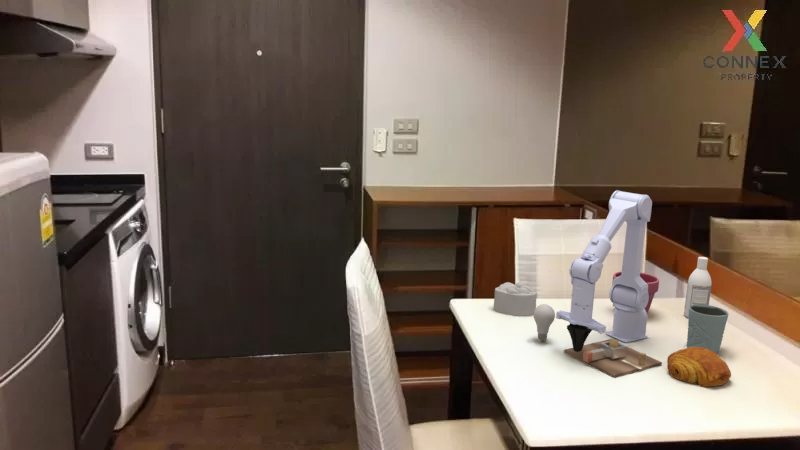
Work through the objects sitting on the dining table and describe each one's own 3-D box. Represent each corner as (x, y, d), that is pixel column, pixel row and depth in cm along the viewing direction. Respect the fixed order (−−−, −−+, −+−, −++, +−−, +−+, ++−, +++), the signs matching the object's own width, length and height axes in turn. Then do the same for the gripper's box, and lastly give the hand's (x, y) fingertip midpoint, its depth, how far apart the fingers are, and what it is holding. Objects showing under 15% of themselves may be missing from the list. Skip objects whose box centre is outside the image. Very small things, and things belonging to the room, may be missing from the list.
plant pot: (617, 304, 228) (621, 267, 225) (660, 313, 220) (664, 276, 217) (603, 315, 216) (607, 277, 214) (647, 325, 208) (652, 286, 206)
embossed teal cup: (678, 349, 190) (683, 309, 187) (691, 340, 197) (696, 301, 195) (715, 360, 183) (721, 318, 181) (727, 350, 190) (733, 310, 188)
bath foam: (711, 320, 215) (719, 260, 210) (692, 321, 213) (700, 260, 209) (697, 313, 221) (705, 254, 217) (679, 314, 220) (686, 255, 215)
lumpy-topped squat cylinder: (502, 302, 225) (504, 278, 223) (539, 310, 219) (541, 284, 217) (490, 311, 216) (492, 285, 215) (529, 319, 210) (531, 293, 208)
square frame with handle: (611, 349, 185) (612, 340, 184) (626, 356, 181) (627, 346, 180) (578, 357, 179) (579, 347, 178) (592, 364, 174) (593, 354, 174)
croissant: (655, 376, 177) (655, 348, 175) (700, 361, 182) (700, 334, 180) (698, 399, 164) (698, 369, 162) (745, 382, 169) (745, 353, 167)
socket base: (610, 341, 194) (612, 324, 193) (663, 365, 178) (665, 347, 177) (562, 352, 185) (564, 334, 184) (614, 379, 169) (616, 359, 168)
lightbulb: (553, 346, 189) (556, 309, 187) (531, 343, 190) (533, 307, 188) (552, 338, 195) (555, 302, 193) (531, 336, 196) (534, 300, 194)
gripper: (550, 298, 182) (546, 345, 185) (596, 313, 171) (591, 363, 174) (566, 293, 186) (562, 339, 189) (612, 308, 175) (607, 356, 178)
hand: (577, 350), depth 182 cm, fingers closed
